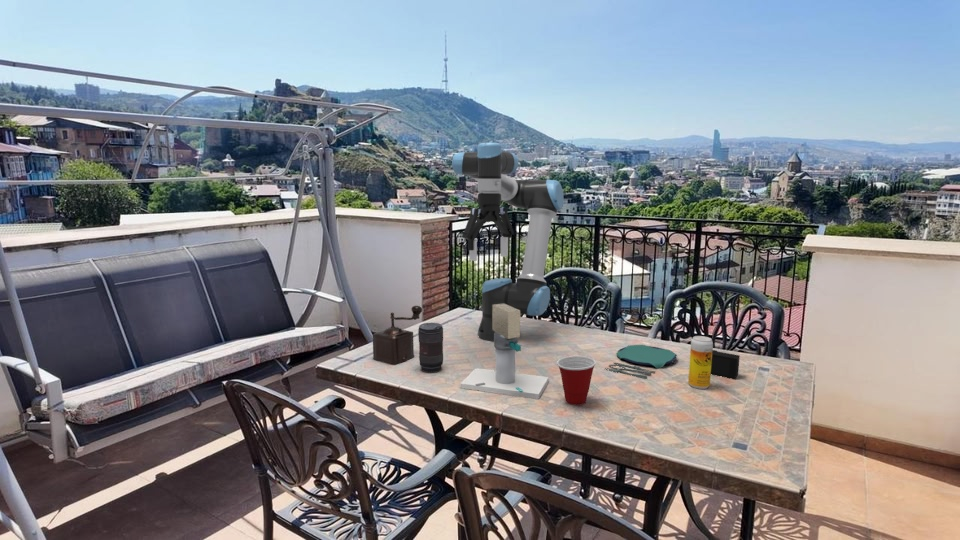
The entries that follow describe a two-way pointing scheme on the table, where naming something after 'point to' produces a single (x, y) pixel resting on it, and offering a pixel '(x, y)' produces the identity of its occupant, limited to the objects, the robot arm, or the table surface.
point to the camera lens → (430, 347)
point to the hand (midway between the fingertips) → (489, 258)
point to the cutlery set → (643, 358)
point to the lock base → (505, 378)
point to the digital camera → (725, 364)
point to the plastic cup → (576, 377)
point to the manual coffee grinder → (395, 341)
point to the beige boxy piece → (506, 327)
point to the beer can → (700, 362)
